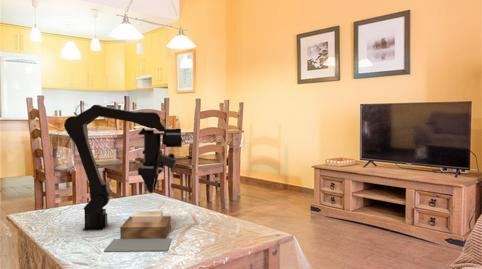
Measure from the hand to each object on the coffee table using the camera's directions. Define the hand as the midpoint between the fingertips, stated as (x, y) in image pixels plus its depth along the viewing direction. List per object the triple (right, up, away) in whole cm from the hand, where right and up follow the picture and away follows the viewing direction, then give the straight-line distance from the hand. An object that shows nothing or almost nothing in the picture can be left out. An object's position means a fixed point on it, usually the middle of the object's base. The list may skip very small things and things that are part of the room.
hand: (152, 191), depth 129 cm
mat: (+1, -13, -20) cm, 24 cm away
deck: (+1, -13, -9) cm, 16 cm away
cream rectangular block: (0, -8, -8) cm, 11 cm away
